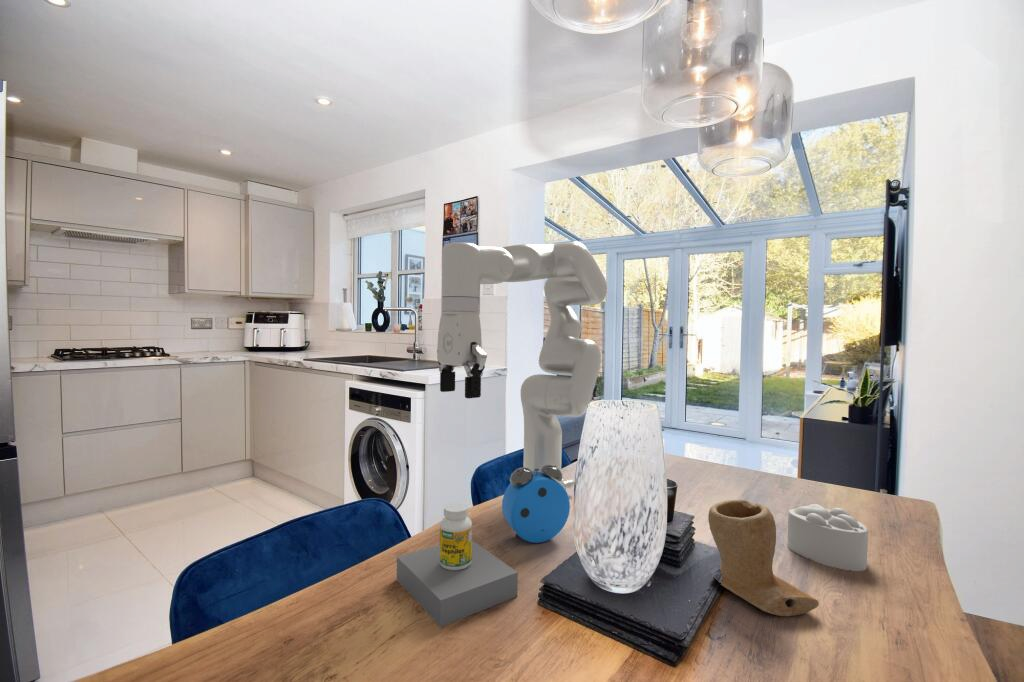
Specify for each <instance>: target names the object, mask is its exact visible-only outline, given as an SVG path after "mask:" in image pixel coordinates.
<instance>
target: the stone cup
mask: <svg viewBox="0 0 1024 682" xmlns="http://www.w3.org/2000/svg"><path fill="white" fill-rule="evenodd" d="M707 517H708V523H709V524H708V525H709V529H710V532H711V536H712V538H713V541H714V543H715V546H716V548H717V551H718V553H719V555H720V560H721V563H720V565H721V566H720V570H721V574H722V581H721V584H720V585H721V586H722V587H723V588H725V589H727V590H729V591H730V592H731V593H733V594H734V595H736V596H738V597H740V598H741V599H743V600H744V601H745V602H747V603H749V604H751V605H752V606H754V607H756V608H758V609H760V611H763V612H765V613H768V614H771V615H775V616H779V617H792V616H793V617H795V616H798V615H803V614H805V613H809V612H811V611H813V610H815V609H816V608H818V607H819V605H820V604H819V603H820V602H819V600H818V599H816V598H815V597H813V596H811V595H810V594H808V593H806V592H804V591H802V590H801V589H799V588H797V587H796V586H795V585H793V584H791V583H789V582H787V581H786V580H784V579H782V578H780V577H778V576H776V575H775V574H774V571H773V562H774V555H775V553H776V552H775V551H776V545H777V526H776V521H775V518H774V515H773V514H772V511H771V510H770V509H769V508H768V507H767V506H766V505H764V504H762V503H753V502H751V501H748V500H745V499H744V500H743V499H727V500H724V501H719V502H717V503H713V504H712V505H711V507H710V508H709V510H708V515H707Z"/></svg>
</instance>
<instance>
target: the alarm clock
mask: <svg viewBox="0 0 1024 682" xmlns="http://www.w3.org/2000/svg"><path fill="white" fill-rule="evenodd" d="M538 470H539V469H534V471H531V470H530V469H528V468H525V467H519V468H516V469H515V470H514V471H513V472H512V473H511V475H510V478H509V482H510V483H509V484H508V486H507V487H506V489H505V491H504V493H503V497H502V502H501V512H502V514H503V518H504V519H505V522H506V523H507V525H508V526H509V527H510V529H512V531H514V532H515V537H518V536H519V537H520V538H521V539H522V540H524V541H525V542H528V543H534V544H538V543H540V544H541V543H545V542H547V541H550V540H551V539H553V538H554V537H556V536H557V535H558V534H559V533H560V532H561V531H562V530H563V528H564V527H565V525H566V523H567V522H568V518H569V516H570V512H571V511H570V510H571V505H570V503H571V501H570V497H569V494H568V492H567V489H566V490H565V489H564V487H563V486H562V485H561V484H560V483H558V482H557V481H555V480H554V479H556V480H558V481H562V479H563V480H564V476H563V473H562V470H561V471H560V470H559V469H558V468H557V467H556V465H555V466H553V465H545V466H543V467H542V468H541V470H540V471H541V472H538ZM542 472H543V473H542ZM551 477H552V478H554V479H552V478H551Z"/></svg>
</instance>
